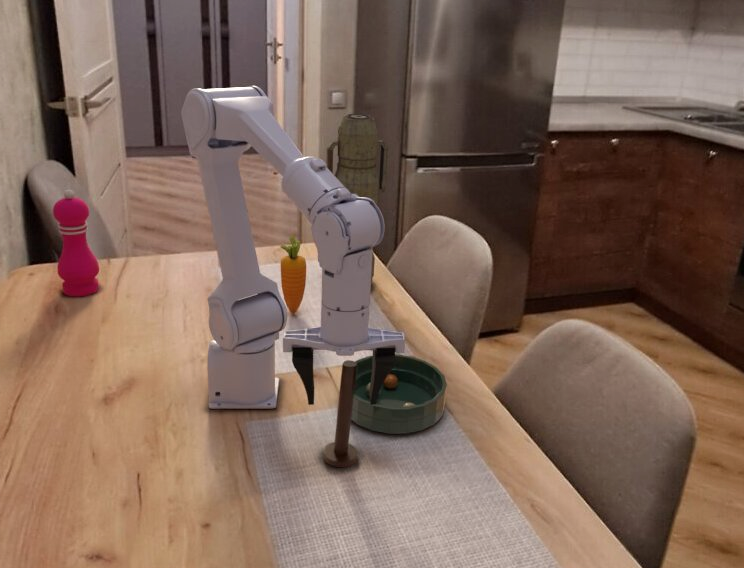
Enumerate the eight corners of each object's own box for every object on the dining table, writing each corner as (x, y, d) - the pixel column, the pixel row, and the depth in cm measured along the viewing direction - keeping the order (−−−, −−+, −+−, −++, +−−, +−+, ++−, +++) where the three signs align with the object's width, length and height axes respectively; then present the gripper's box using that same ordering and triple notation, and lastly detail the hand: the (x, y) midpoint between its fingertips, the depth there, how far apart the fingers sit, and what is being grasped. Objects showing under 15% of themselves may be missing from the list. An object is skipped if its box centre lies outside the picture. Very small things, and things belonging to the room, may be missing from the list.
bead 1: (366, 399, 99) (366, 386, 98) (365, 391, 101) (366, 379, 100) (380, 399, 99) (381, 386, 98) (379, 391, 101) (380, 379, 100)
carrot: (301, 321, 123) (302, 244, 117) (275, 317, 124) (275, 240, 118) (310, 310, 127) (311, 235, 122) (285, 306, 128) (285, 232, 122)
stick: (322, 466, 84) (331, 371, 80) (323, 445, 89) (331, 353, 84) (357, 468, 85) (368, 373, 80) (356, 447, 89) (366, 356, 84)
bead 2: (383, 391, 101) (384, 379, 100) (382, 383, 103) (383, 371, 102) (398, 391, 102) (399, 379, 101) (396, 383, 104) (397, 371, 103)
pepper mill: (63, 284, 131) (49, 184, 123) (103, 282, 133) (92, 184, 126) (57, 299, 125) (43, 195, 117) (99, 296, 127) (87, 194, 119)
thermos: (317, 280, 141) (320, 112, 128) (369, 274, 146) (377, 111, 132) (331, 297, 133) (336, 120, 120) (385, 290, 138) (396, 119, 125)
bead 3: (402, 421, 94) (403, 408, 94) (400, 412, 96) (401, 399, 96) (417, 421, 95) (418, 408, 94) (415, 412, 97) (416, 399, 96)
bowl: (342, 437, 91) (343, 409, 89) (340, 378, 105) (341, 353, 103) (451, 436, 93) (454, 408, 91) (435, 379, 107) (437, 354, 105)
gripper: (281, 315, 74) (281, 418, 79) (410, 317, 76) (402, 418, 81) (284, 290, 80) (285, 387, 85) (404, 292, 82) (397, 387, 87)
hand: (342, 400), depth 83 cm, fingers open, 7 cm apart
